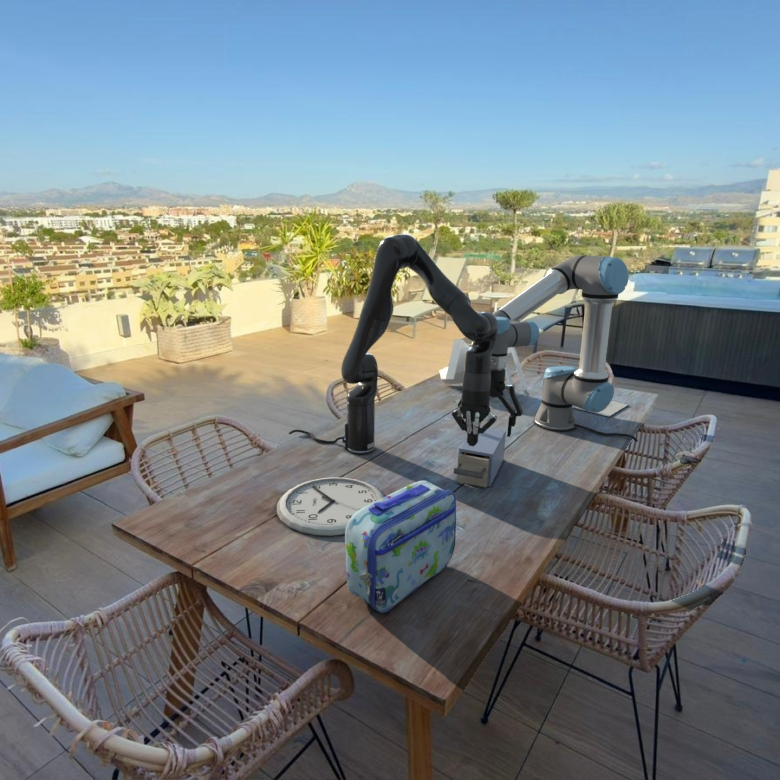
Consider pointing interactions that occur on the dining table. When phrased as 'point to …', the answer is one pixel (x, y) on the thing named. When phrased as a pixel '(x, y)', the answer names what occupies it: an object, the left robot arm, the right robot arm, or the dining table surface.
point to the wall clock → (325, 504)
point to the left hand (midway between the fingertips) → (472, 445)
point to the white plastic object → (457, 365)
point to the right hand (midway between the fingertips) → (487, 431)
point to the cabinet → (488, 449)
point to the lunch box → (399, 543)
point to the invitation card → (609, 408)
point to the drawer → (472, 469)
